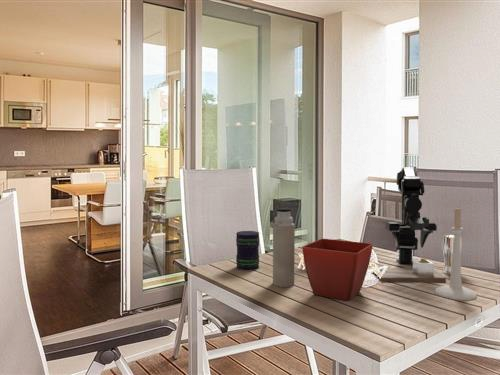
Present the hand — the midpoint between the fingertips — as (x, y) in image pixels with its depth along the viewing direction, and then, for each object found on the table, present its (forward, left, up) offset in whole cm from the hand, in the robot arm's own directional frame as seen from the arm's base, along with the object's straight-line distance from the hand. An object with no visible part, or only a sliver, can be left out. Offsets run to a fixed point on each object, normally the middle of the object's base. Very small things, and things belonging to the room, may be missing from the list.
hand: (410, 247), depth 176 cm
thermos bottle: (+15, -51, -11) cm, 55 cm away
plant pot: (+26, -33, -11) cm, 44 cm away
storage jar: (-9, -65, -11) cm, 67 cm away
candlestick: (+26, +7, -11) cm, 29 cm away
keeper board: (+4, -2, -11) cm, 12 cm away
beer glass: (-3, +18, -11) cm, 21 cm away
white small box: (+4, +4, -9) cm, 11 cm away
